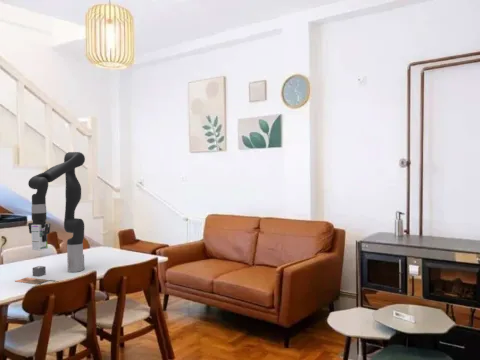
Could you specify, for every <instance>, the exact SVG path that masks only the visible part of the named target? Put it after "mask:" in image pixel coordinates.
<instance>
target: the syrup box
mask: <svg viewBox="0 0 480 360" xmlns="http://www.w3.org/2000/svg"><path fill="white" fill-rule="evenodd" d="M41 228H42V227H41V225H38V224H36V225H31V231H32V234H31V250H33V251H42V250H43V251H44V250H47V249H48V246H49V245H48V234H47V235H46V239H47V240H46V242H42V232H41ZM44 229H45V227H44V228H42V230H44ZM43 232H44V231H43Z"/></svg>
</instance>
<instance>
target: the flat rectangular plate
mask: <svg viewBox="0 0 480 360" xmlns="http://www.w3.org/2000/svg"><path fill="white" fill-rule="evenodd" d="M14 282H16V283H22V282H23V283H25V284H32V285H38V284H44V283H47V282H55V280H53V279H43V278H36V277H29V276H27V277H24V278H23V277H22V278H21V279H17V280H14Z"/></svg>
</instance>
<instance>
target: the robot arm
mask: <svg viewBox="0 0 480 360" xmlns="http://www.w3.org/2000/svg"><path fill="white" fill-rule="evenodd" d="M85 160H86V156H85V155H84V153H82V152H80V151H69V152H66V153H65V155H64V158H63V162H62V163H59V164H57V165H54V166H52V167H50V168H49V169H46V170H45V171H44V172H40V173H38V174H35V175H34V176H32V177H31V178H30V179H29V180H28V183H27V185H28V187H29V188H30V189H32V190H36V193H34V194H32V195H31V210H30V211H31V221H32V222H28V224H27V225H28V231H29V234H31V235H32V231H31V225H36V224H38V225H41V227H42V228H44V227H45V229H44V230H42V228H41V232H42V242H46V240H47V241H48V238H47V239H46V235H47V236H48V235H49V234H51V233H50V232H51V223H47V222H46V221H47V203H46V202H47V201H46V199H47V197H46V196H47V194H48V190H49V183H52V182H54V181H55V180H57V179H58V178H60V177H61V176H62V175H65V209H64V221H63V228H64V230H65V232H66V233H69V234H72V236H71V238H68V239H67V241H66V246H67V247H66V248H67V249H66V250H67V257H66V258H67V272H68V273H78V272H82V271H84V270H85V254H84V238H85V221H84V220H83V219H82V218H75V212H76V208H77V206H78V205H79V203H80V201H81V199H82V185H81V184H80V181H79V179H78V177H77V175H76V169H77V168H79V167H81V166H82V165H84V163H85ZM43 231H44V232H43Z"/></svg>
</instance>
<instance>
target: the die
mask: <svg viewBox="0 0 480 360" xmlns="http://www.w3.org/2000/svg"><path fill="white" fill-rule="evenodd" d="M46 271H47V270H46V266H43V265H37V266H34V267H32V277H38V278H39V277H42V276H46V275H47V273H46Z"/></svg>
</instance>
